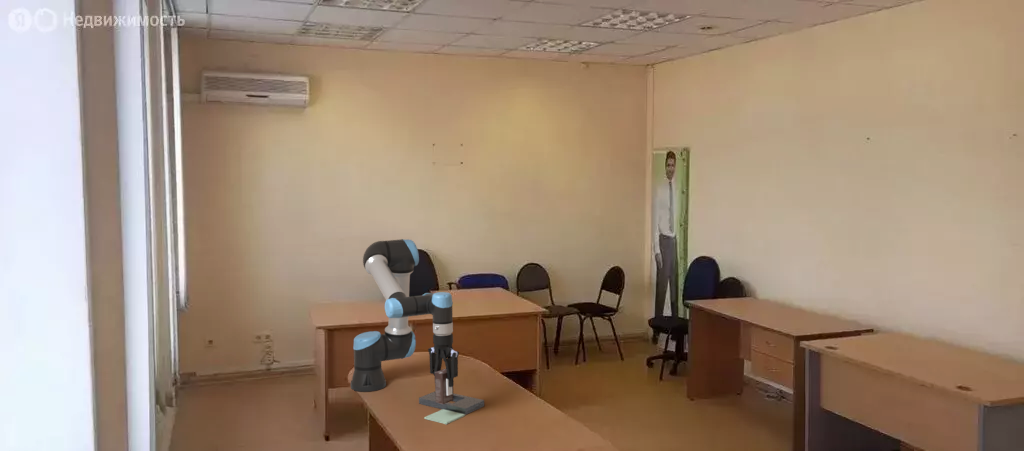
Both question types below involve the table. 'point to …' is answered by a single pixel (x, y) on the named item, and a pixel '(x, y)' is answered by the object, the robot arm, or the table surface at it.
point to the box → (442, 387)
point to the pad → (444, 416)
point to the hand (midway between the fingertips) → (444, 393)
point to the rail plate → (460, 406)
